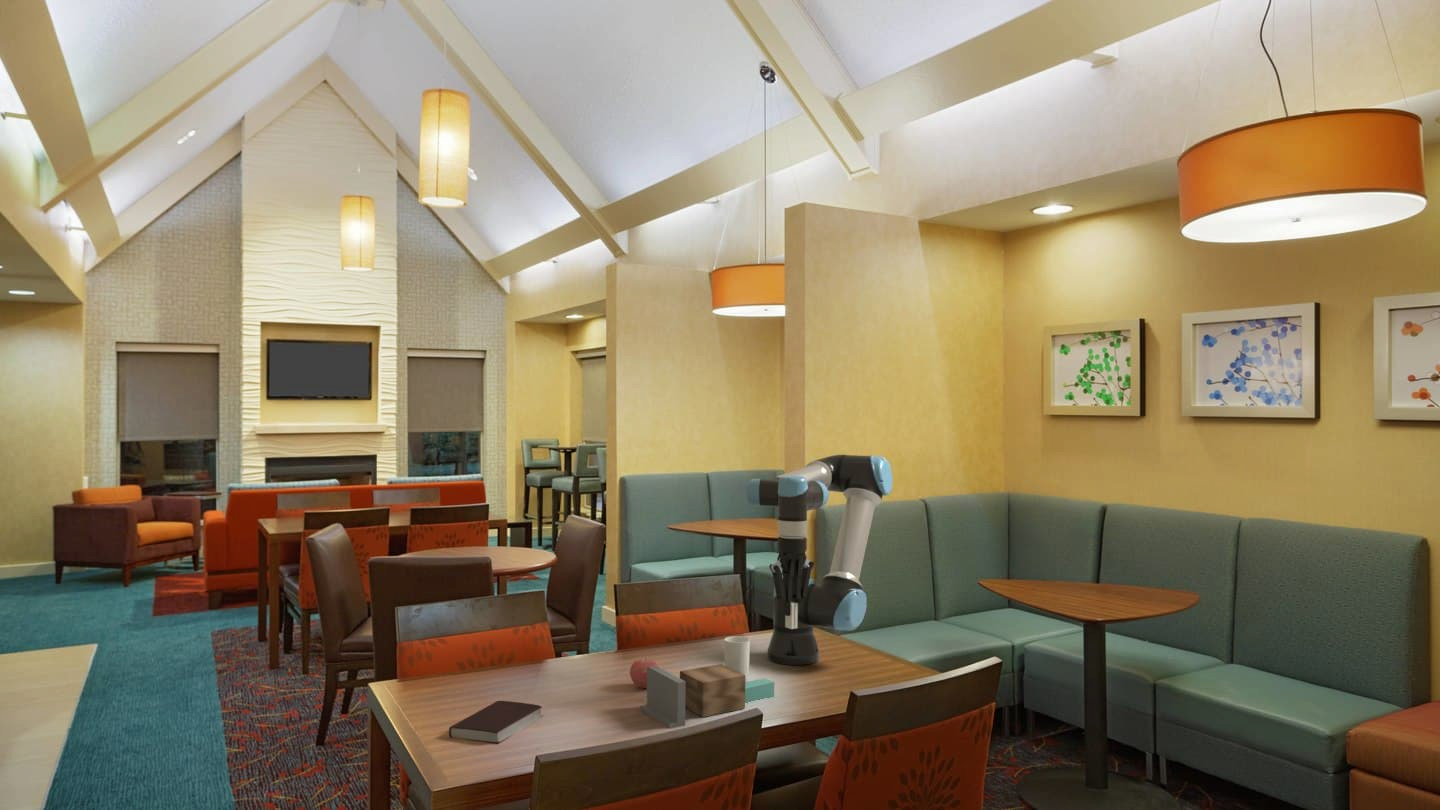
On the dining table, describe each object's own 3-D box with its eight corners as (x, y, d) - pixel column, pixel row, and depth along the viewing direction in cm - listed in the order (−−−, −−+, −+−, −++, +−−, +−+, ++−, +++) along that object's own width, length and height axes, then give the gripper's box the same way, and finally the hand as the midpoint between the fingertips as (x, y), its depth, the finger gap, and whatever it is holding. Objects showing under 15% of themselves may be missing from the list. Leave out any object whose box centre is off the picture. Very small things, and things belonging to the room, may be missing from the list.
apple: (663, 685, 236) (664, 654, 236) (650, 693, 229) (650, 662, 229) (639, 681, 239) (639, 651, 239) (624, 689, 232) (625, 658, 232)
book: (448, 739, 198) (448, 724, 198) (497, 711, 216) (497, 697, 216) (497, 747, 193) (497, 732, 193) (543, 717, 212) (543, 704, 212)
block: (720, 695, 227) (720, 664, 227) (745, 708, 218) (745, 675, 218) (679, 703, 221) (679, 671, 221) (702, 716, 211) (703, 682, 211)
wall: (654, 706, 219) (654, 665, 219) (685, 724, 206) (685, 681, 206) (639, 709, 217) (639, 667, 217) (669, 728, 204) (670, 684, 204)
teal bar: (764, 693, 231) (764, 678, 231) (774, 697, 227) (774, 682, 227) (720, 704, 222) (720, 687, 222) (730, 708, 219) (730, 692, 219)
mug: (753, 687, 235) (754, 641, 235) (730, 690, 232) (730, 643, 232) (737, 676, 244) (737, 632, 244) (714, 679, 241) (715, 634, 242)
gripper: (803, 532, 239) (802, 621, 239) (762, 536, 232) (761, 627, 232) (821, 536, 233) (820, 627, 233) (779, 540, 225) (778, 634, 225)
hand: (791, 627), depth 232 cm, fingers closed
